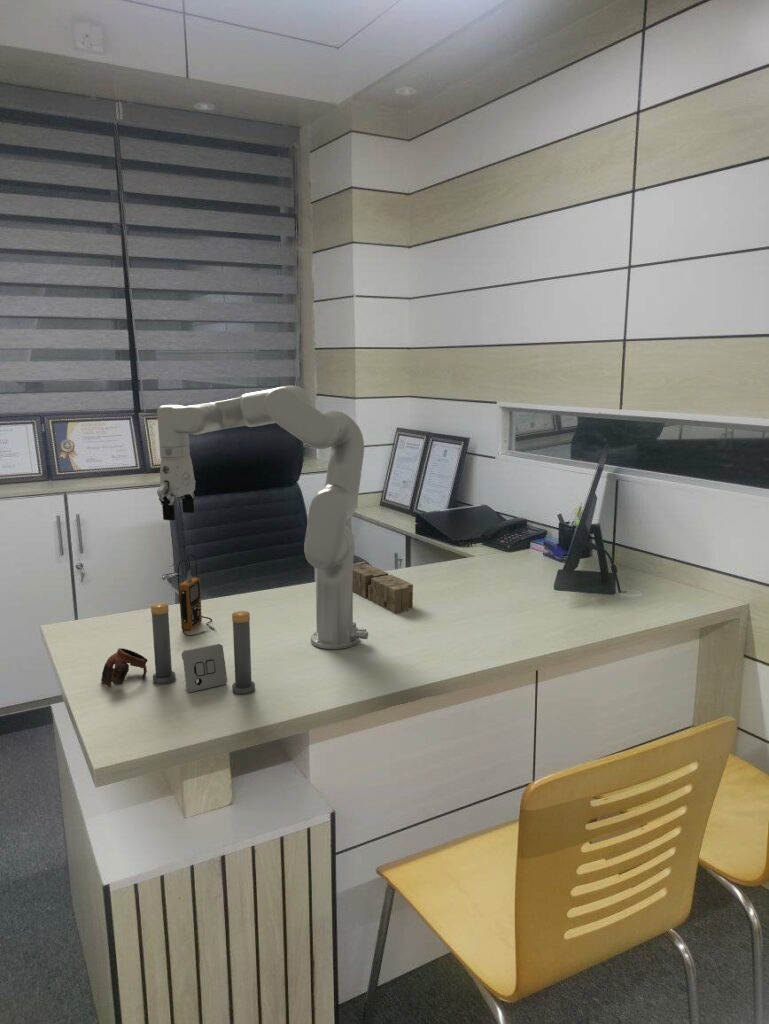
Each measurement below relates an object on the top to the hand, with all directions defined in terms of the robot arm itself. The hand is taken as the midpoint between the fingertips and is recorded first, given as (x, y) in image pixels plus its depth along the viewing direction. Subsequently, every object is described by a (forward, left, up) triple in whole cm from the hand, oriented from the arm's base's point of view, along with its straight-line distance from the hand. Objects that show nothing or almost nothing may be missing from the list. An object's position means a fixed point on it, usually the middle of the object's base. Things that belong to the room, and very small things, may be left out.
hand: (179, 516), depth 198 cm
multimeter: (-5, -1, -32) cm, 32 cm away
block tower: (-45, -38, -32) cm, 67 cm away
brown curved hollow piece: (-4, +35, -32) cm, 47 cm away
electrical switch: (-22, +32, -32) cm, 50 cm away
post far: (-12, +32, -31) cm, 46 cm away
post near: (-32, +32, -31) cm, 55 cm away
